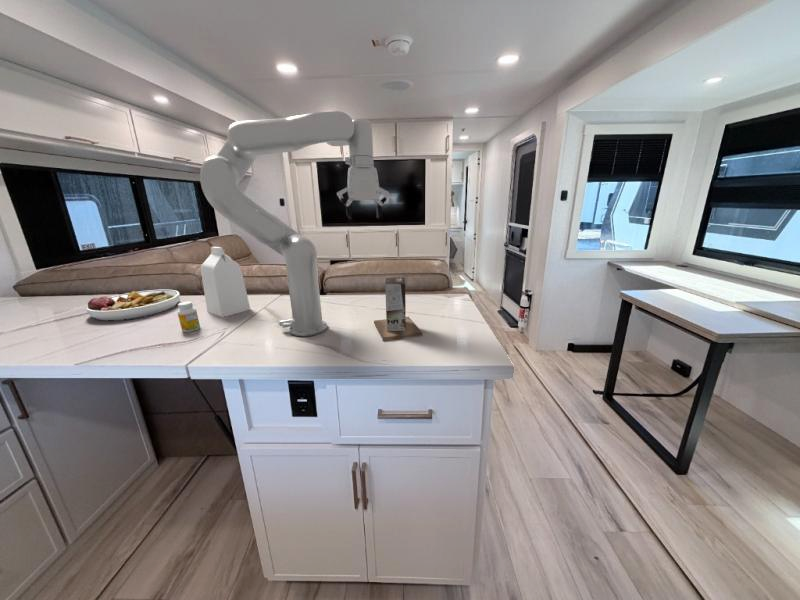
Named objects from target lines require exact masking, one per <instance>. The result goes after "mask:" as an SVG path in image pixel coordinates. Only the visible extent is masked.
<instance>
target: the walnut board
mask: <svg viewBox="0 0 800 600" xmlns="http://www.w3.org/2000/svg"><path fill="white" fill-rule="evenodd" d="M374 324H375V325H374ZM373 325H374V327H375V328H376V330H377V333H378V334H379V336H380V338H381V339H382V341H383V342H387V341H395V340H400V339H401V340H402V339H408V338H409V337H410V338H416V337H423V331H422V329H420V328H419V327H418V326H417V324H415V322H414V321H413V320H412V318H410V316H406V322H405V331H387V322H386V319H385V318H384V319H377V320H373ZM410 338H409V339H410Z"/></svg>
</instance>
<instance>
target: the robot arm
mask: <svg viewBox="0 0 800 600" xmlns="http://www.w3.org/2000/svg"><path fill="white" fill-rule="evenodd" d="M373 140H374V139H373V125H372V122H371V121H370V120H368V119H366V118H354V119H352V117H351V116H350V115H349V114H348V113H346V112H343V111H340V110H337V111H335V110H333V111H320V112H318V111H317V112H311V113H305V114H300V115H293V116H292V115H291V116H288V117H280V118H267V119H265V118H263V119H253V120H252V119H250V120H239V121H235V122H233V123H232V124H230V125H229V127H228V129H227V139H226V140H225V143H224V144H223V145H222V147H221V149H220V150H219V152H218V153H217V154H216V155H212V156H208V157H206V158H205V159H204V161H203V162H202V163H201V167H200V175H199V176H200V177H199V179H200V185H201V190H202V192H203V195H204V196H205V198H206V200H207V202H208V203H209V204H210V206H211V207H212V208H213V209H214V210H215V211H217V213H218V214H220V216H222V217H224V218H225V219H227V220H228V221H230V222H231V223H232V224H234V225H235V226H237V227H238V228H239V229H241V230H242V231H244V232H245V233H246V234H248V235H249V236H251V237H252V238H254V239H255V240H256V241H257V242H258V243H260V244H262V245H264V246H266V247H269V248H270V249H272V250H273V251H275V252H276V253H278V254H279V255H281V256H282V257H284V260H285V266H286V269H285V270H286V279H287V285H288V286H287V287H288V291H289V301H290V307H291V315H292V316H291V318H288V319H282V320H279V324H278V325H279V326H280V327H282V328H288V327H289V328H288V329H289V333H290V334H291V335H293V336H296V337H309V336H315V335H319V334H321V333H323V332H325V331H326V330H327V329H328V323H327V322H326V321H325V320H323V314H322V305H321V304H322V303H321V296H320V295H321V294H320V285H319V276H318V274H319V273H318V253H317V248H316V247H315V245H314V243H313V242H312V241H311V240H310V239H309V238H307V237H306V236H303V235H302V234H300V233H299V232H298V231H296V230H294V228H292V227H291V226H289V225H288V224H287V223H285V222H283V220H281V219H280V217H278V216H276V215H275V214H272V213H270V212H269V211H267V210H265V208H263V207H262V206H260V205H259V204H257V202H255V201H253V199H251V198H249V196H247V195H246V194H245V193H243V191H241V189H240V187H239V184H240V183H241V181H242V179H244V177H245V175H246V174H247V172H248V171H249V169H250V168H251V167H252V165H253V164H254V162H255V160H256V159H257V157H258V156H261V155H263V156H264V155H272V154H280V153H281V154H282V153H291V152H296V151H300V150H303V149H304V148H307V147H309V146H313V145H317V144H323V143H324V144H325V143H326V144H327V145H329V146H331V147H344V146H348V149H349V151H348V153H349V158H348V159H347V158H346V159H344V160H345V164H346V165H348V166H349V167H348V170H347V181H346V182H347V184H346V185H347V186H346V187H345V188H343V189H341V190H339V191H337V192H336V196H337V198H339V200H340V202H341V203H342V204H343V205H344V206H345V208H346V209H345V210H346V217H347V218H348V219H349V220H352V219H353V211H352V206H351V204H352V203H353V201H374V203H375V204H376V207H375V210H376V211H375V212H376V218H377V219H381V216H383V210H382V206H383V205H384V203H386V202H387V199H388V197H389V195H390V192H389V191H387V190H386V189H384V188H382V187H381V186H380V183H379V176H378V170H377V168H376V167H375V166H374V163H375V162H374V144H373ZM346 193H347V197H348V199H347V200H346V199H345V198H344V196H343V194H346ZM380 193H381V194H383V197H382V198H381V199H380Z"/></svg>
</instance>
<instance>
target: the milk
mask: <svg viewBox="0 0 800 600" xmlns="http://www.w3.org/2000/svg"><path fill="white" fill-rule="evenodd" d="M210 253H211V254H209V256H208V257H207V258H206V259H205V260H204V261H203V262H202V264H201V266H200V274H201V280H202V286H203V291H204V299H205V304H206V305H205V306H206V312H207V313H209V314H211V313H212V314H211V315H214V314H215V316H217V317H219V316H220V317H219V318H225V317H224V316H226V317H229V316H232V315H235V313H236V314H240V313H242V312H246V311H249V310H251V307H250V302H249V296H248V293H247V289H246V288H247V287H246V284H245V281H244V277H243V272H242V268H241V265H240V264H239V263H238V262H236V261H235V260H233V259H232V257H231V256H229V255H227V254H225V250H224V249H223V247H220V246H211V247H210ZM231 314H232V315H231ZM228 315H229V316H228Z"/></svg>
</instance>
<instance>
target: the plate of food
mask: <svg viewBox="0 0 800 600" xmlns="http://www.w3.org/2000/svg"><path fill="white" fill-rule="evenodd" d="M180 300H181V294H180V292H179V291H178V290H176V289H175V290H174V289H151V290H149V289H148V290H140V291H135V290H134V291H133V290H132V291H131V292H126V293H122V294H117V295H113V296H100V297H93V298H92V299H91V298H90V300H89V301H88V303H87V306H86V307H85V310H86V312H87V314H88V315H89V316H90V317H92V318H94V319H95V320H101V321H108V320H114V321H125V320H124V319H126V320H132V319H131V318H133V319H138V318H137V317H139V318H143V316H144V317H148V316H147V315H149V316H152V315H151V314H153V315H156V314H159V312H160V313H162V311H163V312H164V311H168V310H169V309H171V308H174V307H175V306H176V305H178V304H179V303H180ZM155 313H156V314H155Z"/></svg>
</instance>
